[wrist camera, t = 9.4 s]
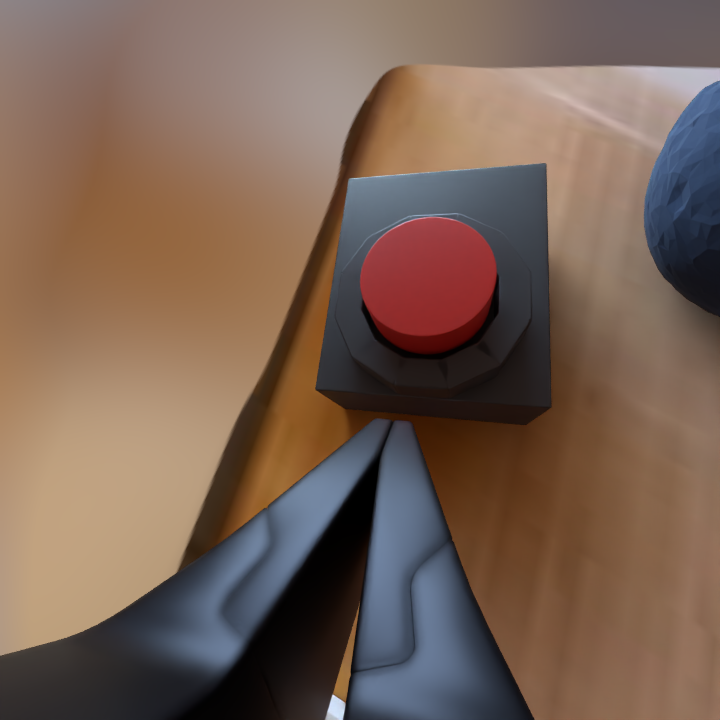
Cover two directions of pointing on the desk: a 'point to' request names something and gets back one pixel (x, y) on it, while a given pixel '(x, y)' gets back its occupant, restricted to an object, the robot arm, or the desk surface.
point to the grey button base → (496, 336)
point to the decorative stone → (689, 203)
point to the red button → (429, 284)
